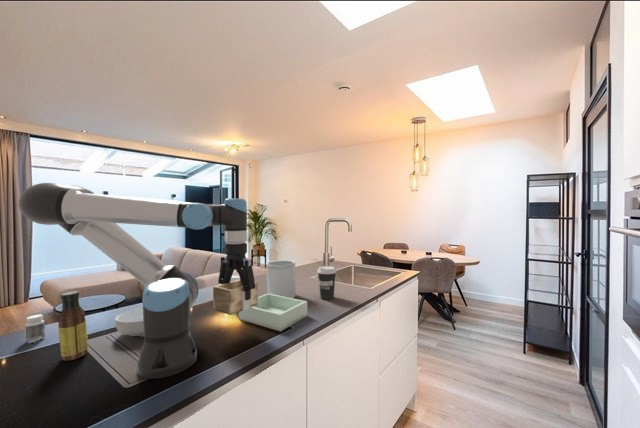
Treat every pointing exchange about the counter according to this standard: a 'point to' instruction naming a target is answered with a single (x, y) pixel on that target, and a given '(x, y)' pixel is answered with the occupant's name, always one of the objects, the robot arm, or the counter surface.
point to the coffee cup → (326, 282)
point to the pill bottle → (35, 328)
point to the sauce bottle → (72, 327)
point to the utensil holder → (281, 278)
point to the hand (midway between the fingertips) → (236, 306)
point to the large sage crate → (275, 312)
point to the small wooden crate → (232, 297)
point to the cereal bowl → (131, 322)
